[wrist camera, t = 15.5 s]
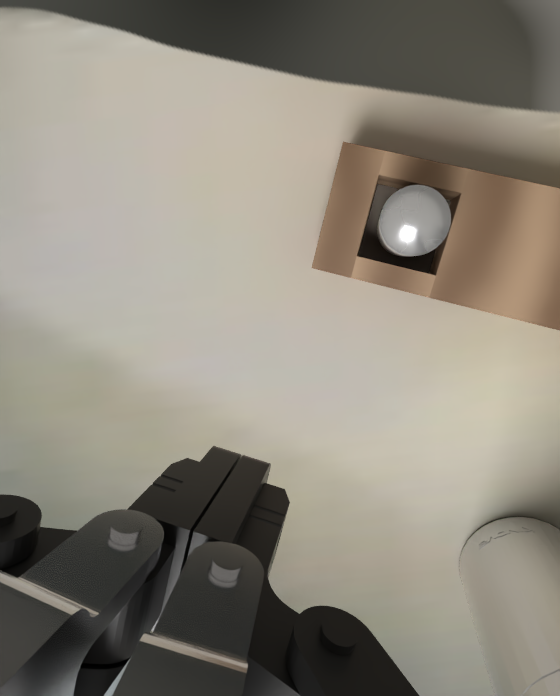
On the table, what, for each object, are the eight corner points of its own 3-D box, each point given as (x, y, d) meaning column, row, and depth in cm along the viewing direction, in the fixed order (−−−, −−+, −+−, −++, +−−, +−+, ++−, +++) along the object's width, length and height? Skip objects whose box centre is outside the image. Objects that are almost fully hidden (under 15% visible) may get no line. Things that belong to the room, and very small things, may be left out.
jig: (708, 233, 32) (755, 230, 28) (657, 352, 34) (695, 364, 30) (345, 154, 35) (343, 141, 31) (317, 266, 37) (311, 267, 33)
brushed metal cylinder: (441, 241, 35) (462, 237, 27) (389, 265, 36) (396, 267, 28) (419, 191, 35) (434, 172, 27) (368, 216, 36) (368, 205, 28)
